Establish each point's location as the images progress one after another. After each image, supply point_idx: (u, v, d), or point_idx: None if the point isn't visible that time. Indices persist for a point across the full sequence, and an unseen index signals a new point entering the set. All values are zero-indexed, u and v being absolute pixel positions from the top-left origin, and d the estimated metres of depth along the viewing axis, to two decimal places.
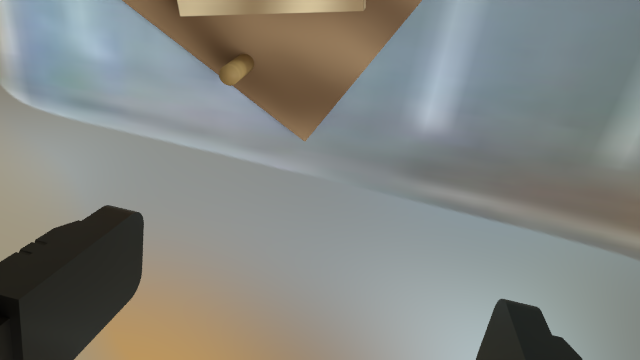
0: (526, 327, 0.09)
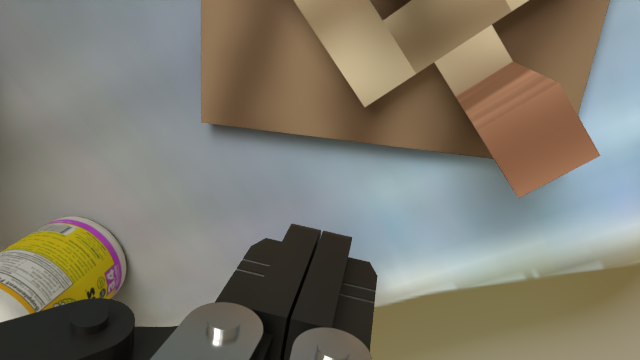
0: (328, 249, 0.10)
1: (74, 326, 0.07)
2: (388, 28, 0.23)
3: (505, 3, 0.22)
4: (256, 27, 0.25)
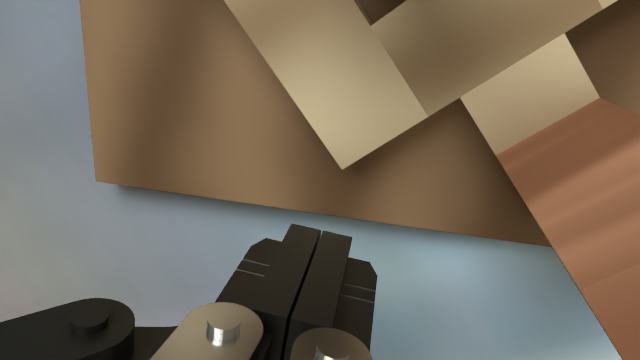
0: (328, 249, 0.10)
1: (74, 326, 0.07)
2: (380, 39, 0.13)
3: None
4: (167, 36, 0.16)
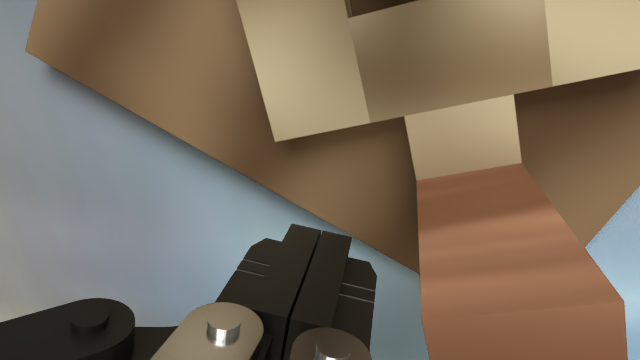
0: (327, 249, 0.10)
1: (74, 326, 0.07)
2: (352, 34, 0.13)
3: (548, 69, 0.13)
4: None
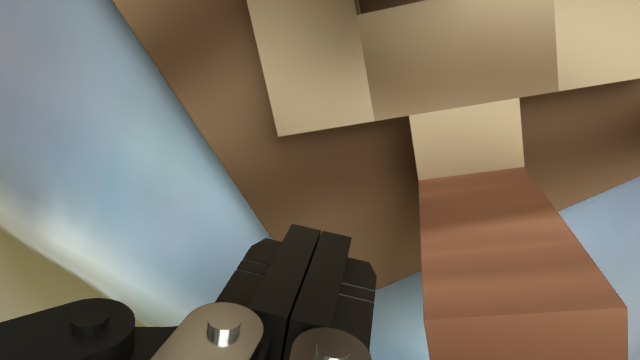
0: (327, 249, 0.10)
1: (74, 326, 0.07)
2: (360, 31, 0.13)
3: (555, 74, 0.13)
4: None
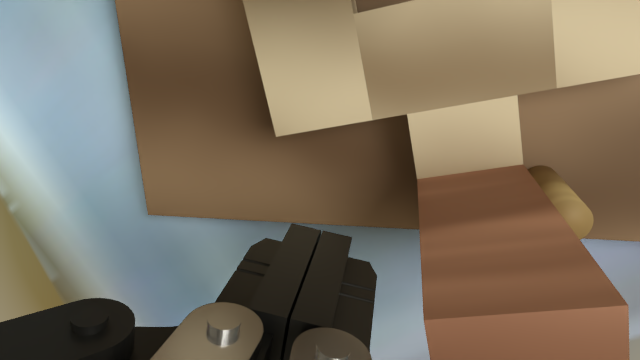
0: (327, 249, 0.10)
1: (74, 326, 0.07)
2: (357, 30, 0.13)
3: (552, 71, 0.13)
4: None
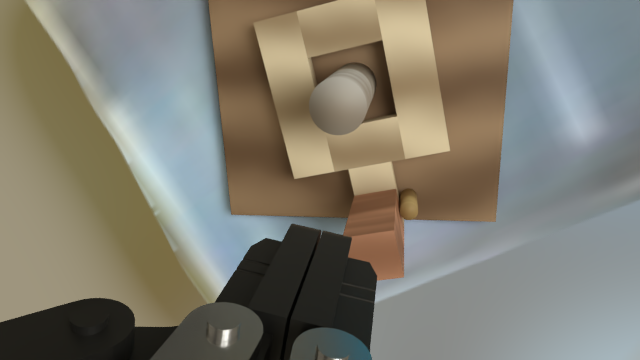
0: (328, 249, 0.10)
1: (74, 326, 0.07)
2: (326, 137, 0.33)
3: (403, 152, 0.32)
4: None
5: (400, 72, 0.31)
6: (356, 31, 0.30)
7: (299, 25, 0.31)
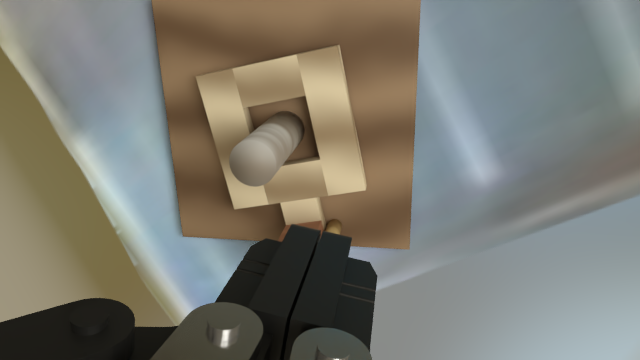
0: (328, 249, 0.10)
1: (74, 326, 0.07)
2: None
3: (326, 190, 0.37)
4: (224, 39, 0.36)
5: (321, 123, 0.35)
6: (284, 87, 0.35)
7: (234, 80, 0.35)
